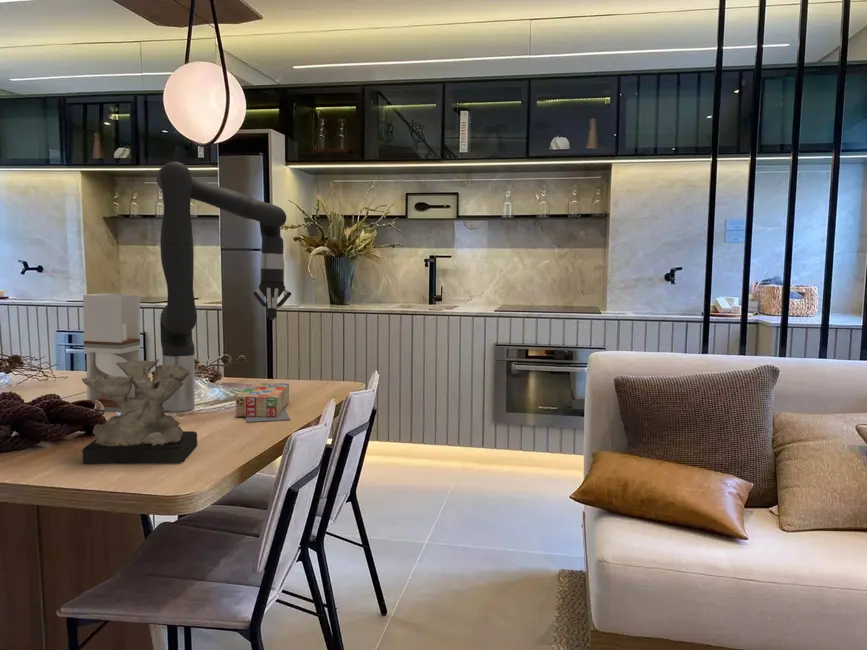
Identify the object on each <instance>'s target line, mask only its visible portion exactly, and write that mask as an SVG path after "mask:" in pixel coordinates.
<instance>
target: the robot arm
mask: <svg viewBox="0 0 867 650" xmlns="http://www.w3.org/2000/svg"><path fill="white" fill-rule="evenodd" d="M156 183H157V185H158V187H159V188H160V190H161V193H162V201H163V214H162V222H161V228H160V229H161V230H160V240H159V242H160V243H159V244H160V245H159V246H160V247H159V248H160V261H161V265H162V266H161V267H162V271H163V275H164V278H165V282H166V286H167V287H166V288H167V303H166V304H167V305H165V306H164V307H163V308H162V311H161V313H160V317H159V319H160V320H159V321H160V322H159V323H160V327H159V328H160V346H161V351H162V353H161V354H162V359H161V360H162V361H161V362H162V364H161V365H168V366H169V365H172V366H173V365H180V366H183V367H185V368H187V369H189V370H190V371H189V372H190V374H189V375H188V376H187V377H186V378H185V379H184V380H183V381H182V382H184V384H183V385H182V386H181V387H180V388H178V390H176V392H175V393H174V394H173V395H172V396H171V397H170V398H169V399H168V400H166V401H165V402H164V403H163V405H162V406H163V407H164V412H170V413H175V412H176V413H177V412H178V413H179V412H188V411H192V410H193V408H194V409H195V403H196V401H195V392H196V390H195V389H196V388H195V383H196V382H195V377H196V376H195V371H196V369H195V367H196V366H195V360H196V359H195V351H196V350H195V344H194V342H193V341H194V340H193V330H194V328H195V326H196V325H197V321H198V314H197V309H196V302H195V295H194V294H195V293H194V275H195V274H194V273H195V272H194V271H195V270H194V268H195V267H194V265H195V264H194V262H195V261H194V259H195V257H194V255H195V254H194V251H195V250H194V237H193V236H194V234H193V233H194V232H193V226H192V225H193V224H192V214H191V202H192V201H191V200H195V201H197V202H198V201H199V202H202V203H204V204H208V205H210V206H211V207H212V206H213V207H215V208H217V209H219V210H223V211H225V212H228V213H230V214H231V215H234V216H238V217H241V218H243V219H246V220H254V221H255V222H256V221H257V222H259V229H260V235H261V256H260V278H259V279H260V283H259V285H258V288H257V289H255V290H254V291H253V292H252V295H253V296H254V297H255V298H256V300H257V301H258V302H259V303H260V304H261V305H260V306H262V307H265V308H266V309H267V312H266V313H267V314H266V315H267V318H268V319H269V320H270V321H274V320H275V319H276V318H277V310H278V308H280V307H282V306H284V304H285V303H286V302H287V300H288V299H289V298H290V297H291V295H292V292H291V291H289V290H287V289H286V286H285V282H284V281H285V277H284V276H285V258H284V246H285V245H284V240H283V237H282V236H281V228H282V227H283V226H284V225H285V224H286V222H287V213H286V212H285V211H284V209H283V208H282V207H279V206H277V205H275V204H272V203H269V202H265V201H262V200H258V199H255V198H254V197H251V196H249V195H247V194H244V193H241V192H240V191H236V190H232V189H230V188H225V187H223V186H219V185H215V184H211V183H208V182H205V181H204V180H201V179H199V178H197V177H195V176H194V175H192V173H191V170H190V169H189V168H188V167H187V166H186V165H185V164H184V163H183V162H182V163H181V162H180V161H179V162H178V161H170V162H168V163H165V164H164V165H162V167H160V168H159V170H158V171H157V174H156ZM261 293H262V295H263V297H265V298H266V302H265V301H264V299H262V297H261ZM282 295H283V297H282V298H281V299H280V300H279V302H278V298H280V297H281V296H282ZM182 382H181V383H182ZM191 409H192V410H191Z"/></svg>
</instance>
